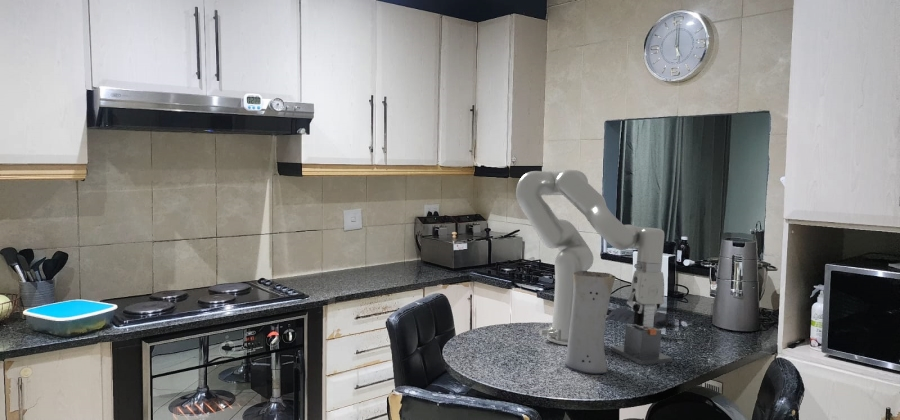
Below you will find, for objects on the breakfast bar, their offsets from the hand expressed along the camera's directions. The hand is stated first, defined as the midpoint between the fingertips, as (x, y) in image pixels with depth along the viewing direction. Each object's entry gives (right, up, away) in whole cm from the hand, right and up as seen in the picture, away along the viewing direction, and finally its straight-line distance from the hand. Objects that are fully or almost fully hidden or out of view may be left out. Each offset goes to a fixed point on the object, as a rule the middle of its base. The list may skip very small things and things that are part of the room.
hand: (643, 323), depth 191 cm
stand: (-1, -10, +1) cm, 10 cm away
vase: (-21, -11, -13) cm, 27 cm away
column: (0, -9, +1) cm, 9 cm away
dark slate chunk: (+13, -8, +46) cm, 49 cm away
